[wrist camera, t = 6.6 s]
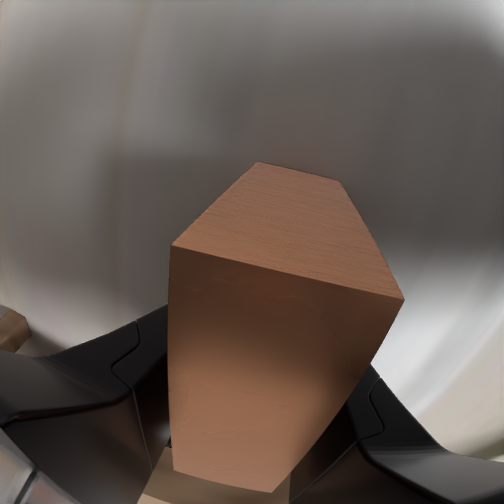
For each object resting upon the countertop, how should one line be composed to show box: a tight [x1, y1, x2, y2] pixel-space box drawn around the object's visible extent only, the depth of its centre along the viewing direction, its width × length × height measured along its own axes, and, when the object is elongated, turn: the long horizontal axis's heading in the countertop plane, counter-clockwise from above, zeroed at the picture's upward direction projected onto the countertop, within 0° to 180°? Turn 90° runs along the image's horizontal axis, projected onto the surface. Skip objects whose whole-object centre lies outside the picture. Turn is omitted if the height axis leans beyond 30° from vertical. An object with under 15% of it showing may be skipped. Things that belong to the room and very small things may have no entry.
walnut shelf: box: [0, 310, 291, 504], centre depth 13 cm, size 19×12×6 cm, turn 80°
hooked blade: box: [168, 162, 405, 493], centre depth 11 cm, size 6×24×6 cm, turn 169°
